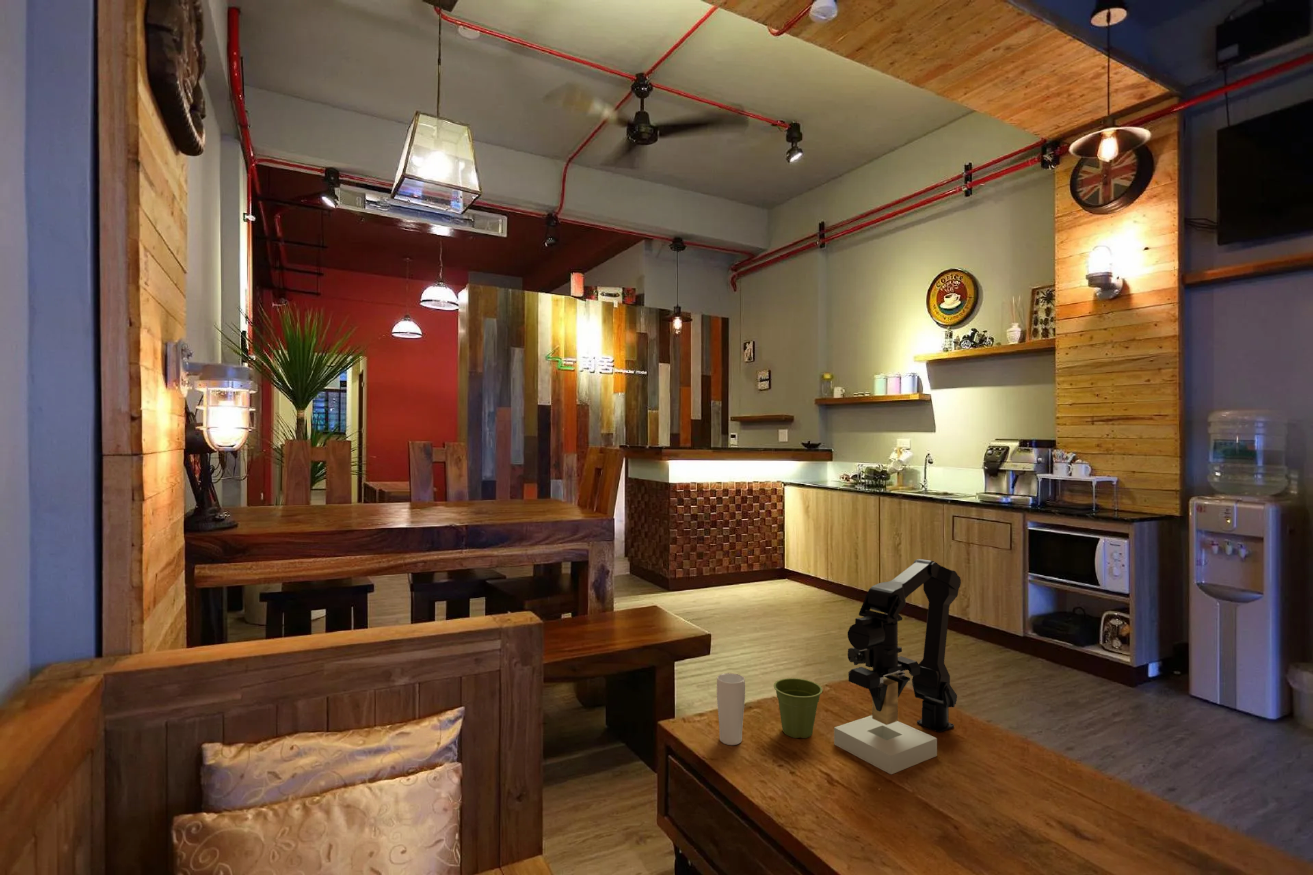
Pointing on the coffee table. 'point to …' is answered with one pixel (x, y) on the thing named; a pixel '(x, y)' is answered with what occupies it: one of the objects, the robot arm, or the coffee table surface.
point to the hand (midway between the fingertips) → (884, 708)
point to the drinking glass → (730, 707)
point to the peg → (888, 704)
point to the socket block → (885, 743)
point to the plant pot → (797, 705)
